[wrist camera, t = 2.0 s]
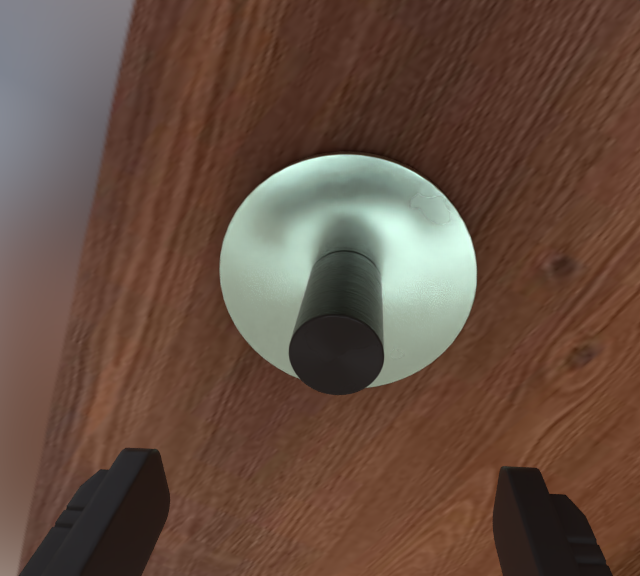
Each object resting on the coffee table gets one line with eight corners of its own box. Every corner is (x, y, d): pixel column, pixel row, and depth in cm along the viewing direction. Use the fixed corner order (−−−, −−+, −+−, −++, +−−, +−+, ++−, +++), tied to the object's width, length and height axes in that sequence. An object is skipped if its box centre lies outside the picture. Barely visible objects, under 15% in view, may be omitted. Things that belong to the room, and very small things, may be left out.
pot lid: (240, 371, 25) (197, 473, 19) (210, 151, 20) (141, 192, 14) (461, 377, 24) (490, 487, 18) (485, 144, 19) (537, 187, 13)
